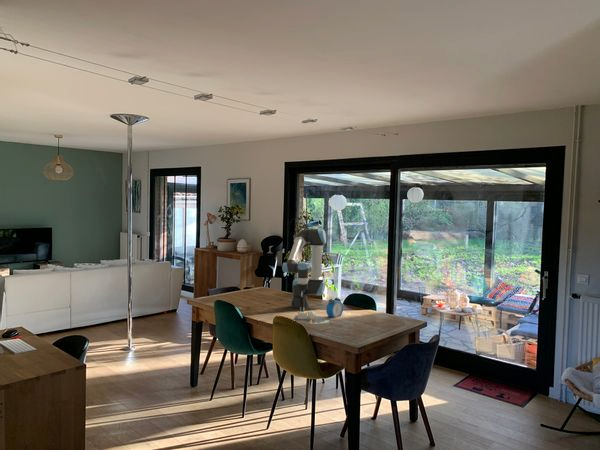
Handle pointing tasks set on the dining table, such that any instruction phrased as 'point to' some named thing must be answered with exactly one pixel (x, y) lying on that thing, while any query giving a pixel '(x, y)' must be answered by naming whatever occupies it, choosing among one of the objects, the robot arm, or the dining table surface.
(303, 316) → the dial
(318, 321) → the tuner board
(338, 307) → the alarm clock
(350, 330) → the dining table surface
